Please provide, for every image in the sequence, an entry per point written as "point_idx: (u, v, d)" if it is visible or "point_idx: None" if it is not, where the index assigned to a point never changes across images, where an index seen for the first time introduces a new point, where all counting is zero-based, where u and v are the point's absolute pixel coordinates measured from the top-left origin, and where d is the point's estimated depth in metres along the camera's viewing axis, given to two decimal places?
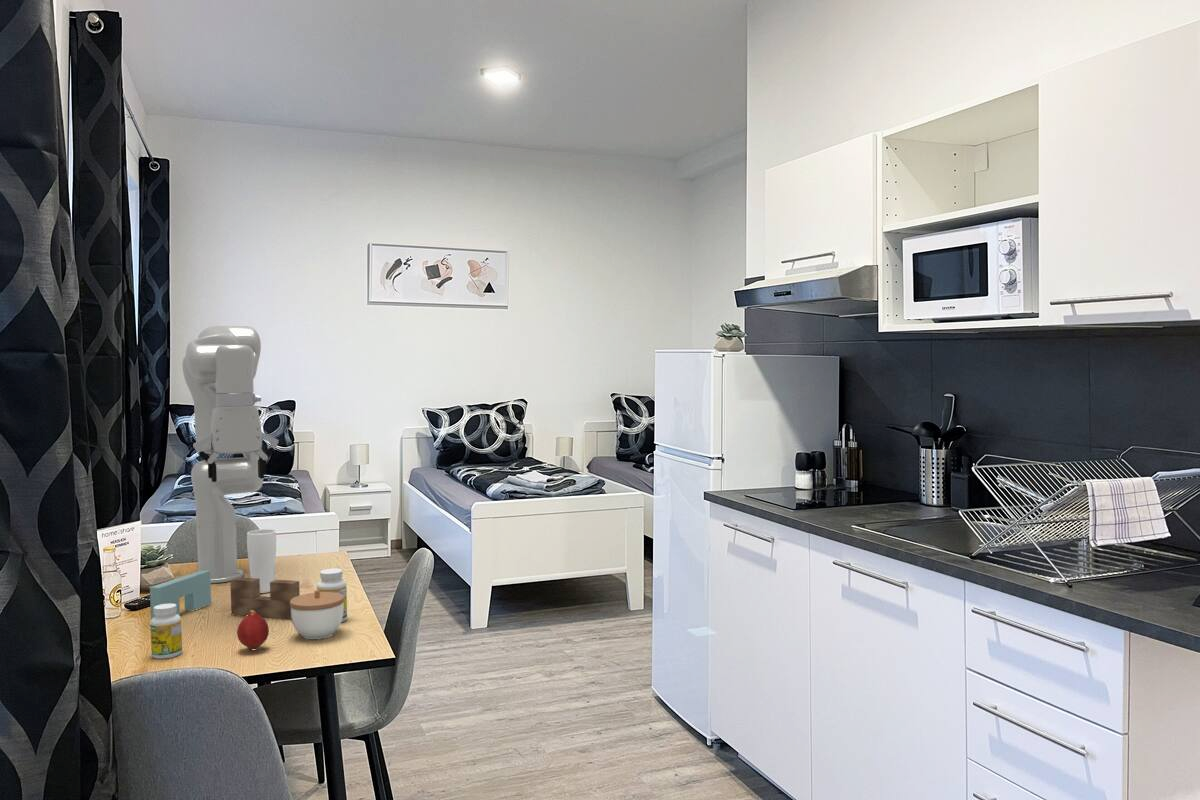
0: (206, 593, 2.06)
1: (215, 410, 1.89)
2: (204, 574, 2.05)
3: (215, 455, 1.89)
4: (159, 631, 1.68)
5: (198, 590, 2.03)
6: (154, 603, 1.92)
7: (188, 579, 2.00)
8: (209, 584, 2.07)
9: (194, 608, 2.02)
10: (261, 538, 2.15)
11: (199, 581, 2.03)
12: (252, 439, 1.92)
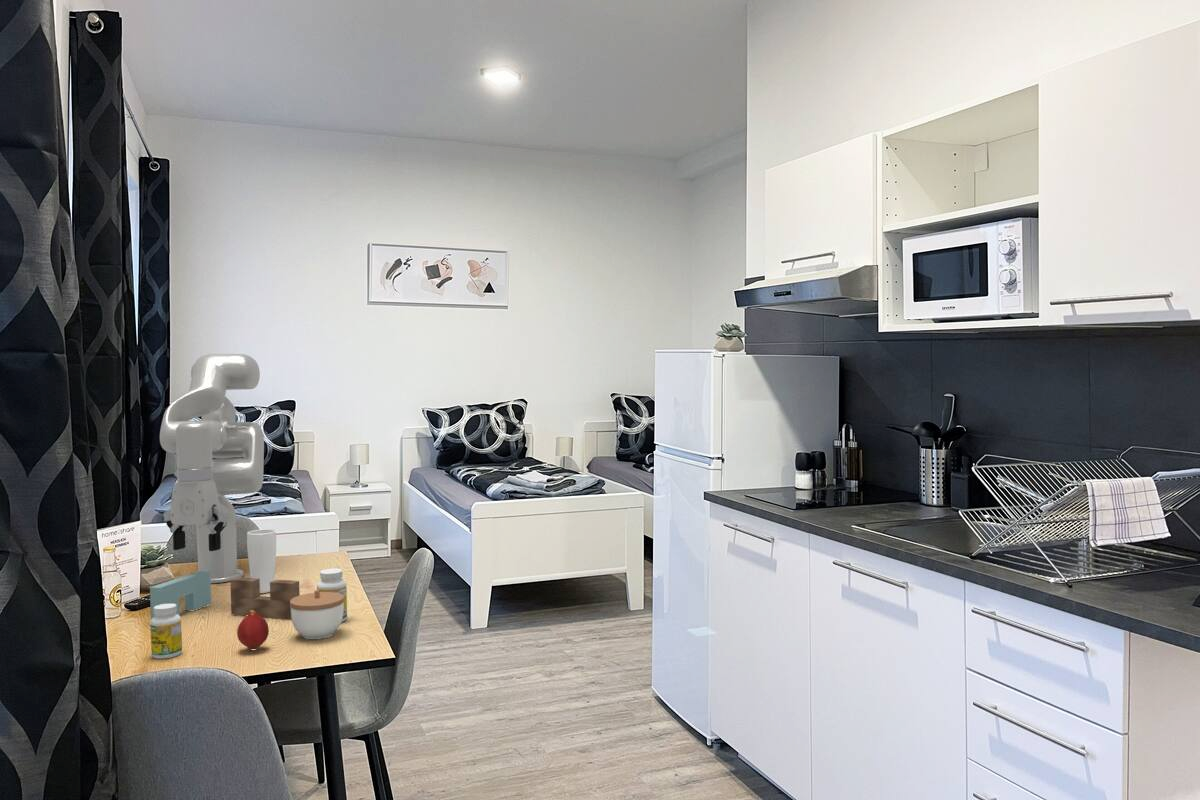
0: (206, 593, 2.06)
1: (214, 483, 2.04)
2: (204, 574, 2.05)
3: None
4: (159, 631, 1.68)
5: (198, 590, 2.03)
6: (154, 603, 1.92)
7: (188, 579, 2.00)
8: (209, 584, 2.07)
9: (194, 608, 2.02)
10: (261, 538, 2.15)
11: (199, 581, 2.03)
12: None
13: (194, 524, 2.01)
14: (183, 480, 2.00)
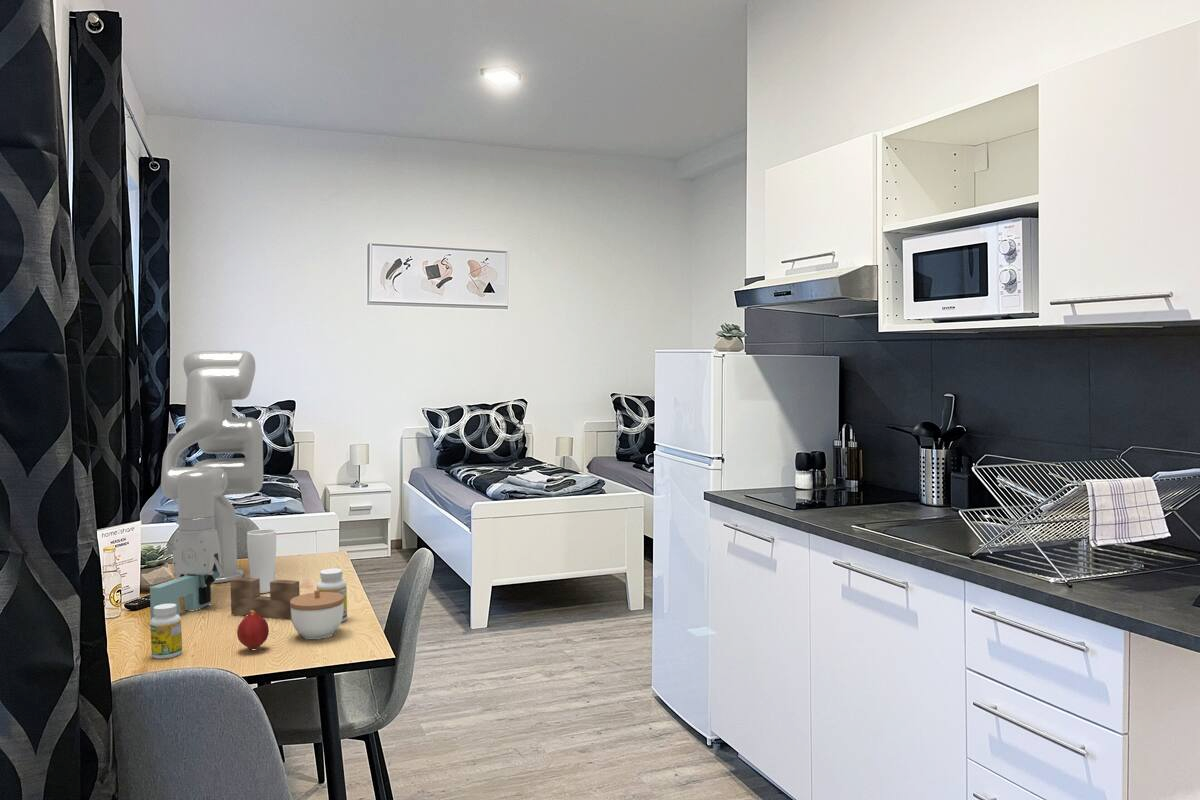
0: None
1: (215, 531, 2.04)
2: None
3: None
4: (159, 631, 1.68)
5: (198, 590, 2.03)
6: (154, 603, 1.92)
7: (188, 579, 2.00)
8: None
9: (194, 608, 2.02)
10: (261, 538, 2.15)
11: (199, 581, 2.03)
12: None
13: (196, 573, 2.02)
14: (185, 530, 2.01)
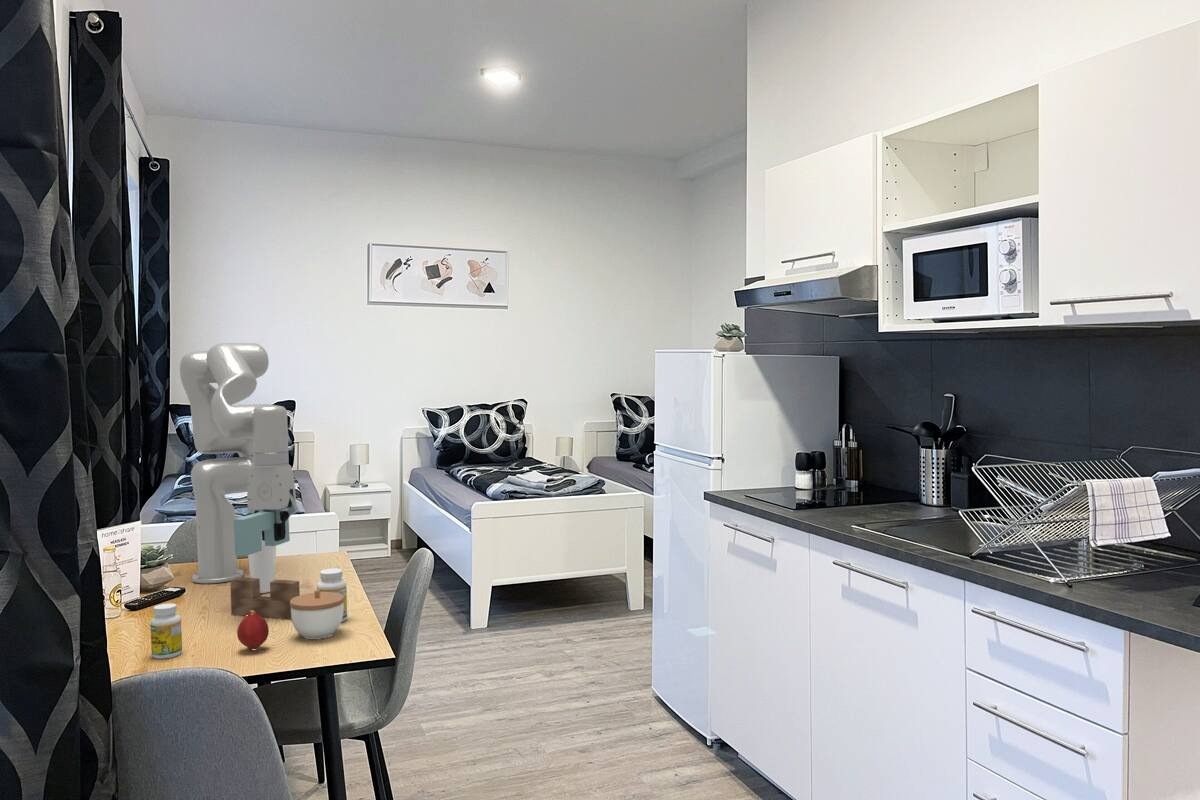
0: (285, 529, 2.04)
1: (290, 466, 2.02)
2: None
3: None
4: (159, 631, 1.68)
5: None
6: (238, 535, 1.91)
7: (269, 513, 1.99)
8: (287, 520, 2.05)
9: (274, 543, 2.00)
10: (261, 538, 2.15)
11: None
12: None
13: (272, 508, 1.99)
14: (260, 464, 1.98)
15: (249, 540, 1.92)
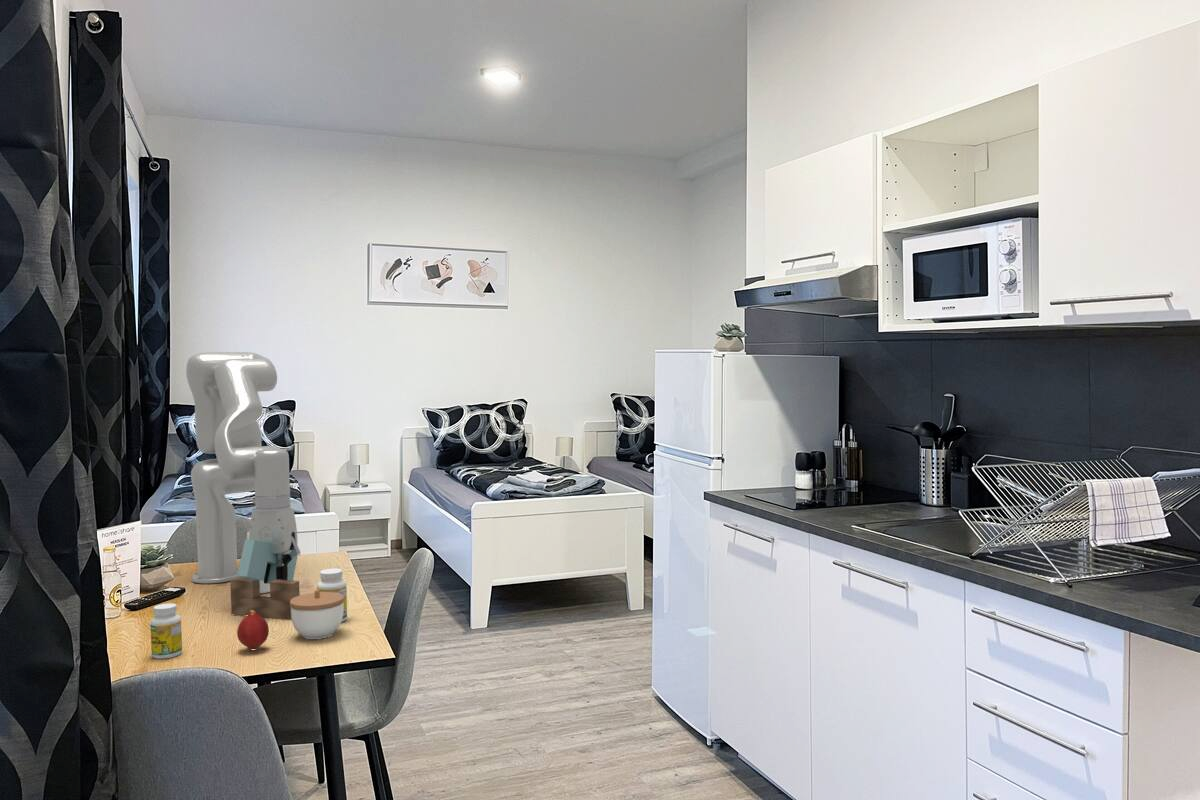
0: (290, 573, 2.05)
1: (292, 509, 2.02)
2: None
3: None
4: (159, 631, 1.68)
5: None
6: (245, 555, 1.93)
7: None
8: (294, 565, 2.07)
9: None
10: None
11: None
12: None
13: (274, 552, 1.99)
14: (262, 508, 1.98)
15: (255, 563, 1.94)
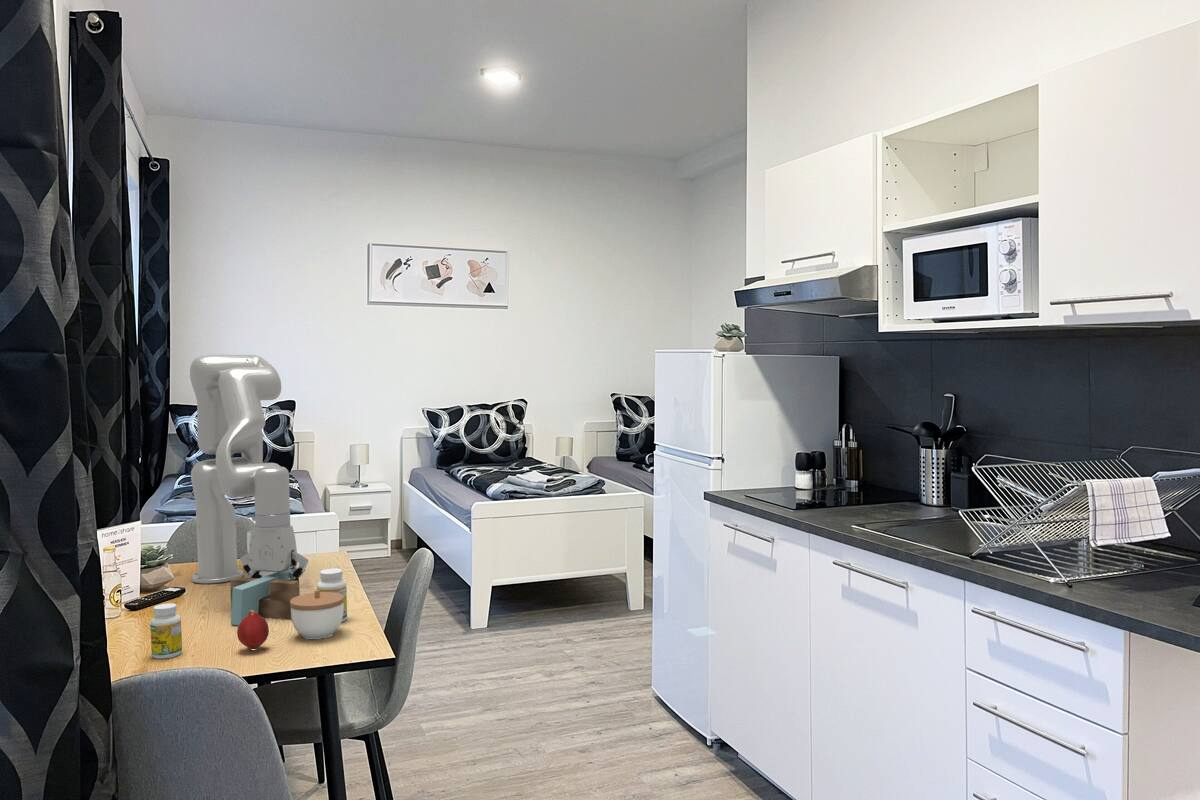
0: None
1: (292, 527, 2.02)
2: (284, 576, 2.02)
3: None
4: (159, 631, 1.68)
5: None
6: (235, 604, 1.90)
7: (269, 581, 1.97)
8: None
9: None
10: None
11: None
12: None
13: (273, 570, 1.99)
14: (262, 526, 1.99)
15: (246, 609, 1.91)
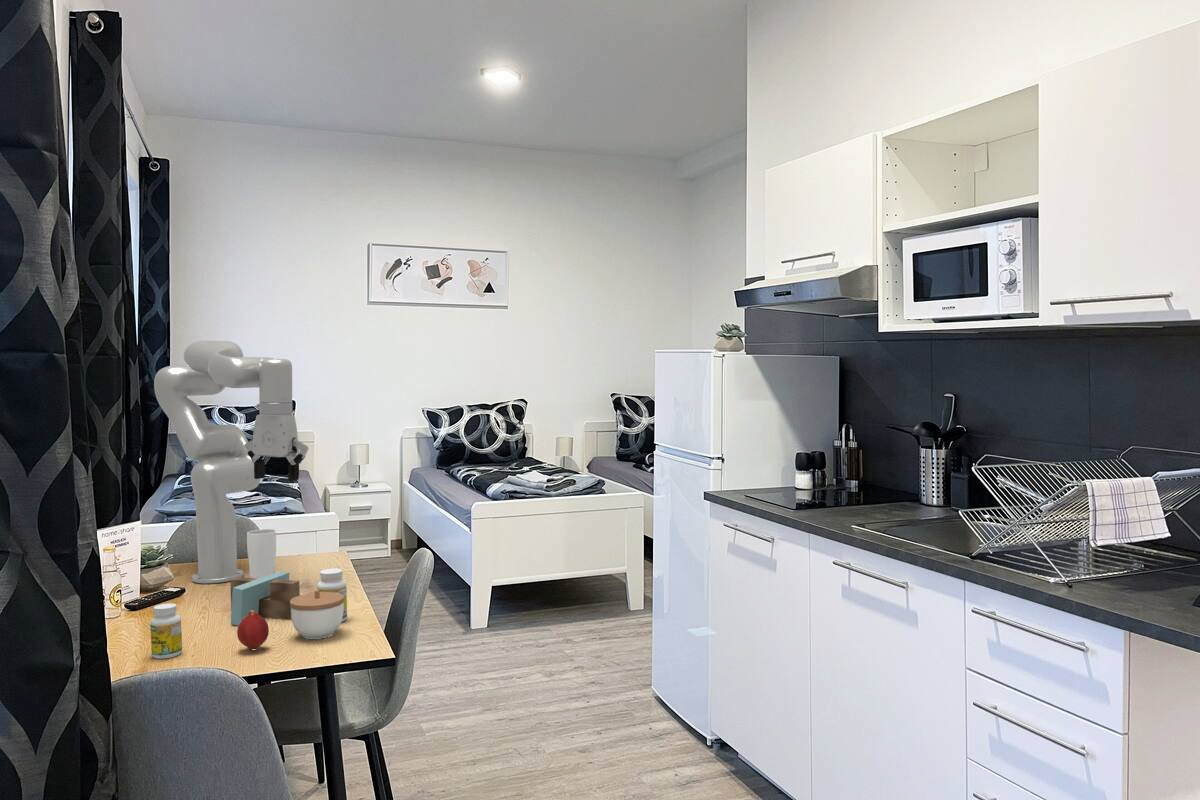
0: None
1: (294, 417, 2.14)
2: (284, 576, 2.02)
3: None
4: (159, 631, 1.68)
5: None
6: (235, 604, 1.90)
7: (269, 581, 1.97)
8: None
9: None
10: (261, 538, 2.15)
11: None
12: None
13: (275, 455, 2.12)
14: (266, 413, 2.11)
15: (246, 609, 1.91)
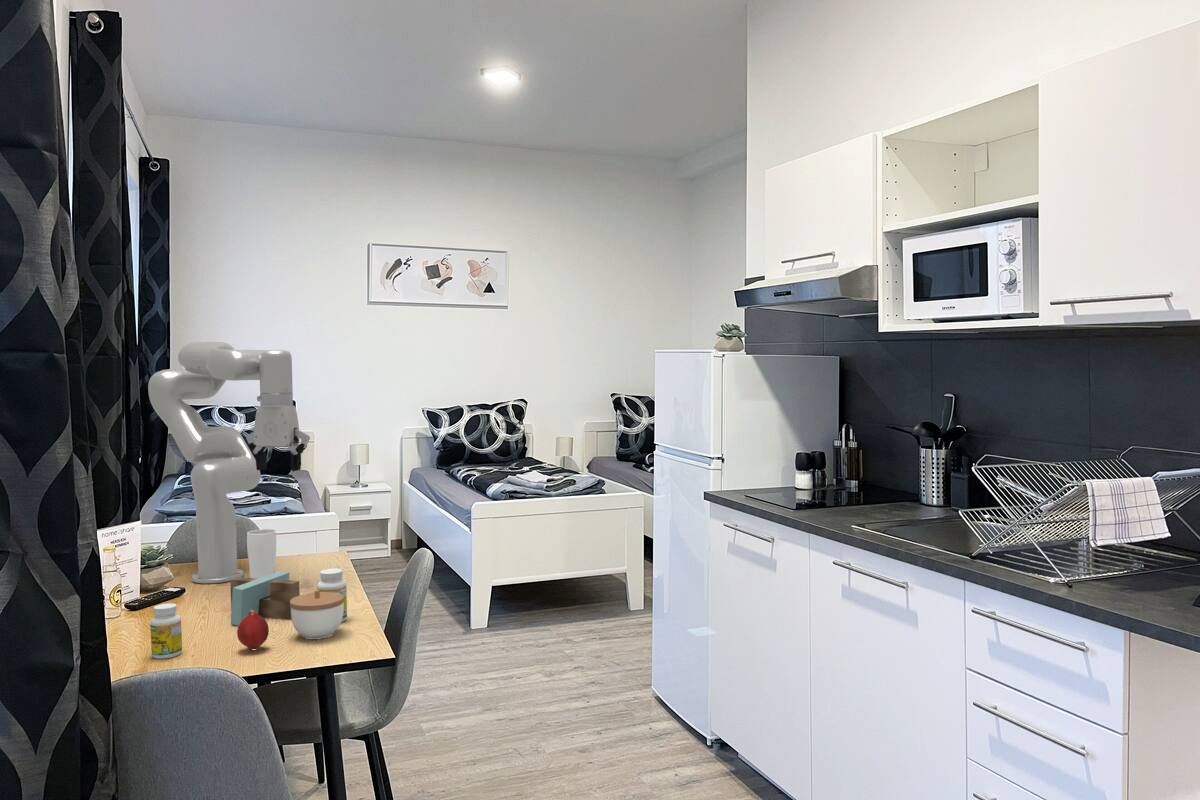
0: None
1: (294, 407, 2.16)
2: (284, 576, 2.02)
3: None
4: (159, 631, 1.68)
5: None
6: (235, 604, 1.90)
7: (269, 581, 1.97)
8: None
9: None
10: (261, 538, 2.15)
11: None
12: None
13: (277, 445, 2.13)
14: (267, 404, 2.13)
15: (246, 609, 1.91)
